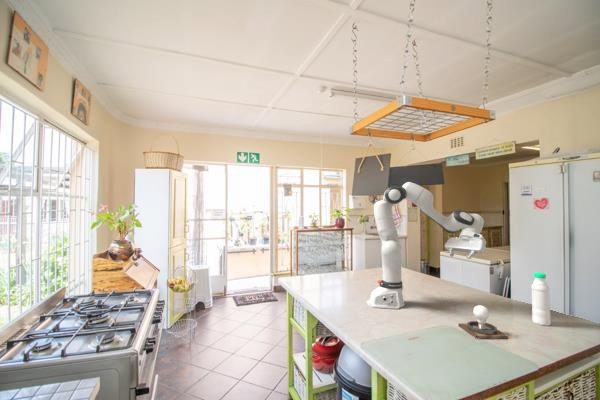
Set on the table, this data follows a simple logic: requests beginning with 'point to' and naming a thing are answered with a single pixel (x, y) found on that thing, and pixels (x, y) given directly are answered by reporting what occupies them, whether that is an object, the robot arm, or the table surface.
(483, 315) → the lightbulb
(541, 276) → the water bottle
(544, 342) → the table surface
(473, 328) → the collar
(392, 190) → the robot arm
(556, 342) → the table surface
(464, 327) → the board
